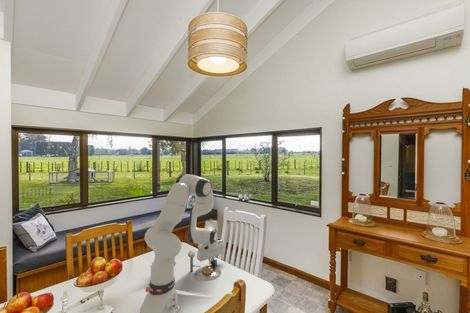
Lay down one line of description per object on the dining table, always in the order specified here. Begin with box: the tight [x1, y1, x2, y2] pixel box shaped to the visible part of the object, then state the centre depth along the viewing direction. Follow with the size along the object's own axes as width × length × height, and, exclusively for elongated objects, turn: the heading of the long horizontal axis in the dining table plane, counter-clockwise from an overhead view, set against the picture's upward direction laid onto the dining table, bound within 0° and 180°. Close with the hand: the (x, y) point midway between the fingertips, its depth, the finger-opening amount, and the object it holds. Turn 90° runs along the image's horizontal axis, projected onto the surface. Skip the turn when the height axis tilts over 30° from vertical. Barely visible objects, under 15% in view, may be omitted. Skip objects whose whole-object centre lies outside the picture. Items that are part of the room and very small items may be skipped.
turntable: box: [193, 259, 222, 282], centre depth 147 cm, size 20×17×4 cm
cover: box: [201, 265, 213, 276], centre depth 146 cm, size 7×7×4 cm
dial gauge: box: [187, 250, 201, 273], centre depth 147 cm, size 8×4×15 cm, turn 78°
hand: (211, 263), depth 156 cm, fingers closed
